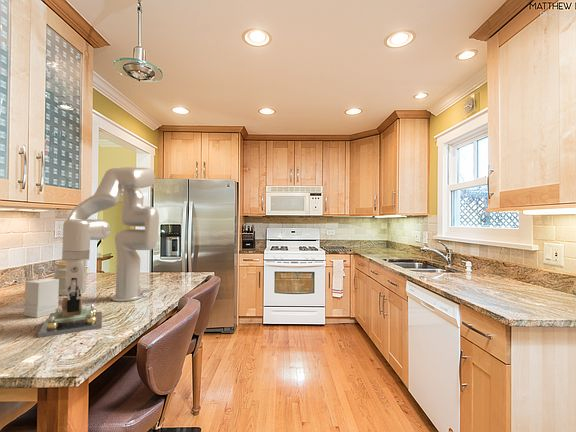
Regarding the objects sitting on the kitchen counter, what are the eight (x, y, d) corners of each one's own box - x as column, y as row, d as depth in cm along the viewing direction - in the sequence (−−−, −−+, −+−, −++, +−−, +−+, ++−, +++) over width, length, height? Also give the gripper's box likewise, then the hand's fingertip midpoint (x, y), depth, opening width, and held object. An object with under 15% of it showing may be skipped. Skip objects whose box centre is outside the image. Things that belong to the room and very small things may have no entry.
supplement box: (58, 312, 110) (60, 279, 111) (36, 318, 103) (37, 282, 104) (45, 310, 113) (47, 277, 113) (23, 315, 106) (24, 281, 106)
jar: (92, 291, 144) (93, 256, 145) (62, 297, 132) (64, 258, 133) (76, 288, 149) (77, 254, 150) (46, 294, 138) (48, 256, 138)
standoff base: (101, 314, 108) (102, 301, 109) (101, 327, 95) (102, 312, 95) (46, 321, 100) (47, 307, 100) (38, 337, 86) (38, 320, 86)
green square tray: (93, 308, 105) (94, 293, 106) (92, 318, 95) (93, 300, 96) (51, 314, 99) (52, 297, 99) (45, 324, 89) (46, 305, 89)
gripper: (88, 258, 93) (86, 314, 92) (90, 253, 107) (88, 301, 107) (58, 259, 89) (56, 317, 88) (64, 253, 103) (62, 304, 103)
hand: (74, 308), depth 97 cm, fingers open, 7 cm apart
